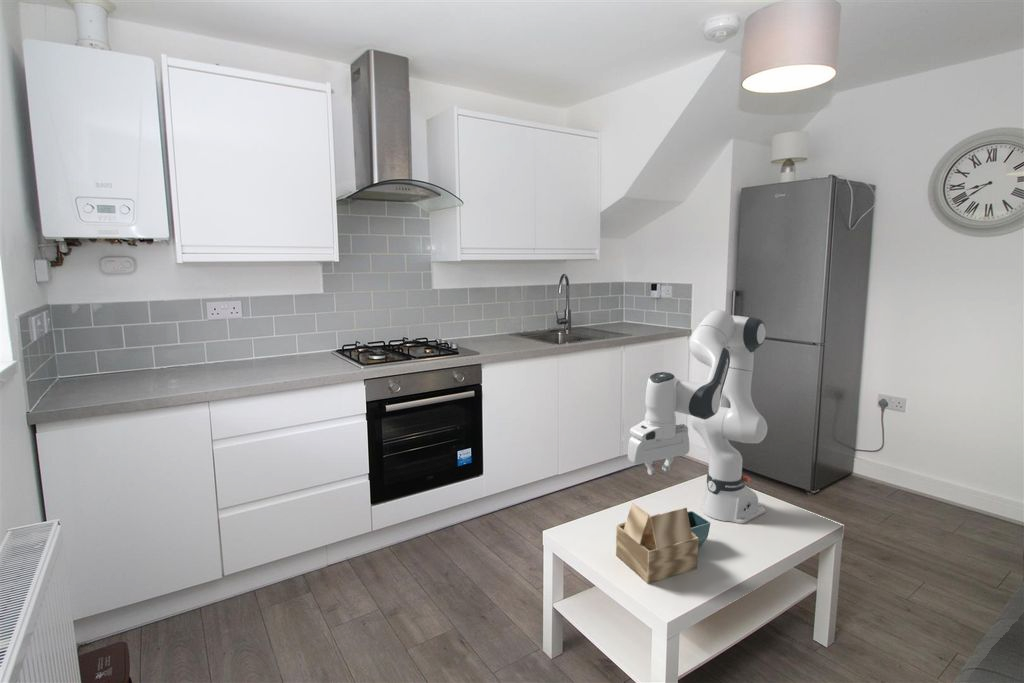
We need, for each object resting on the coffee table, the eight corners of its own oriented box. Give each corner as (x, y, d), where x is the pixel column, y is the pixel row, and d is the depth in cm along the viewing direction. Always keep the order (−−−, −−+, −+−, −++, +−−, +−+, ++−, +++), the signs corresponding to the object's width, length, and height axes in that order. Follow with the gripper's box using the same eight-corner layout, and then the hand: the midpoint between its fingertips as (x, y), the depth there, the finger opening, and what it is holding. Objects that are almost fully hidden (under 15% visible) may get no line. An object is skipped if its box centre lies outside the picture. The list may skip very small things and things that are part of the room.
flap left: (685, 507, 158) (686, 507, 158) (691, 538, 157) (692, 538, 157) (650, 516, 153) (651, 516, 153) (656, 549, 152) (657, 549, 152)
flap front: (633, 503, 162) (632, 503, 162) (649, 514, 154) (648, 514, 154) (624, 531, 162) (623, 531, 162) (640, 544, 155) (639, 544, 155)
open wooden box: (662, 540, 175) (663, 512, 173) (698, 567, 160) (700, 537, 158) (614, 554, 168) (615, 525, 166) (648, 584, 153) (649, 552, 151)
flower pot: (688, 555, 167) (689, 528, 165) (669, 541, 175) (670, 516, 173) (710, 548, 170) (711, 522, 169) (690, 535, 178) (691, 510, 177)
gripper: (680, 420, 163) (679, 462, 166) (625, 429, 155) (624, 474, 158) (695, 426, 157) (693, 470, 160) (638, 436, 149) (637, 482, 152)
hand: (658, 472), depth 159 cm, fingers open, 4 cm apart
